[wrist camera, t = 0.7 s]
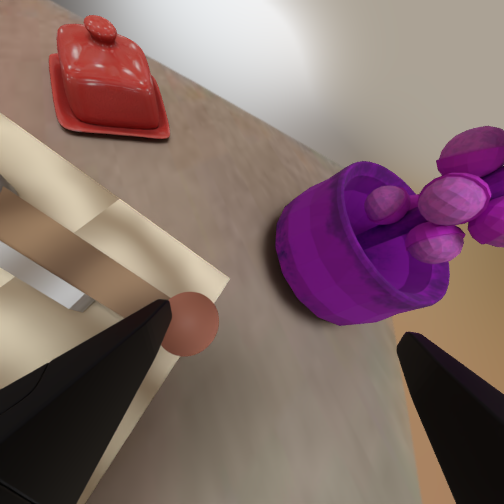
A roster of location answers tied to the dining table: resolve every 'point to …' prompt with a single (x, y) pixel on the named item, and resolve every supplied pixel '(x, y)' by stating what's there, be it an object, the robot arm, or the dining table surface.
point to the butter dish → (104, 83)
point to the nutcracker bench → (107, 241)
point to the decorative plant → (390, 232)
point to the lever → (91, 275)
